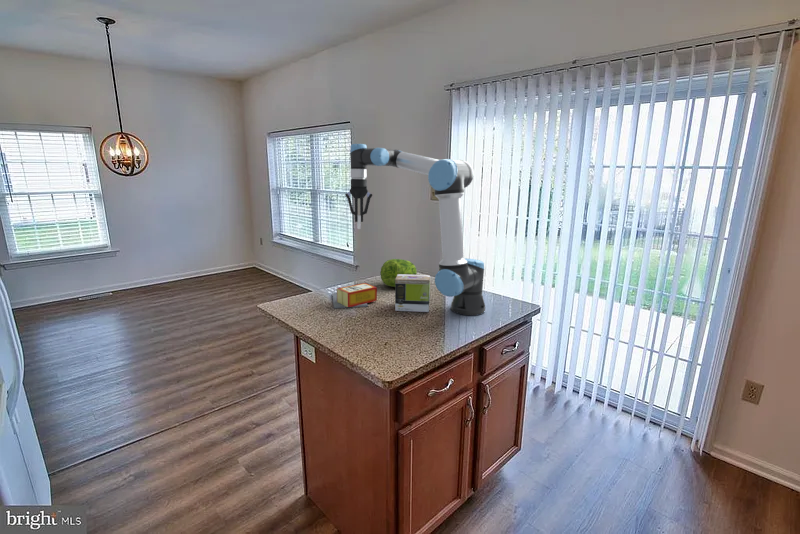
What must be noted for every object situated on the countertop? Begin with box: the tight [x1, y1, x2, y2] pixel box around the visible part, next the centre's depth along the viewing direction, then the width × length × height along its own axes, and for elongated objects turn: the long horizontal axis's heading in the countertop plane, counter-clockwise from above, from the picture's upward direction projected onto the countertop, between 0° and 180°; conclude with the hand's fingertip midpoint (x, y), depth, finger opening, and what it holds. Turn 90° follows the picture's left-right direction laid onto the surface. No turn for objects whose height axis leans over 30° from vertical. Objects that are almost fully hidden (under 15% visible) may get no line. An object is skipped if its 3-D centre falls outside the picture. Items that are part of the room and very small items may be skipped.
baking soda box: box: [336, 282, 378, 308], centre depth 181 cm, size 10×6×16 cm
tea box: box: [394, 274, 431, 313], centre depth 175 cm, size 15×10×15 cm, turn 84°
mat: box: [331, 292, 369, 309], centre depth 185 cm, size 20×15×1 cm
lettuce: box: [380, 258, 418, 288], centre depth 209 cm, size 16×21×15 cm
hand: (359, 228), depth 189 cm, fingers closed
